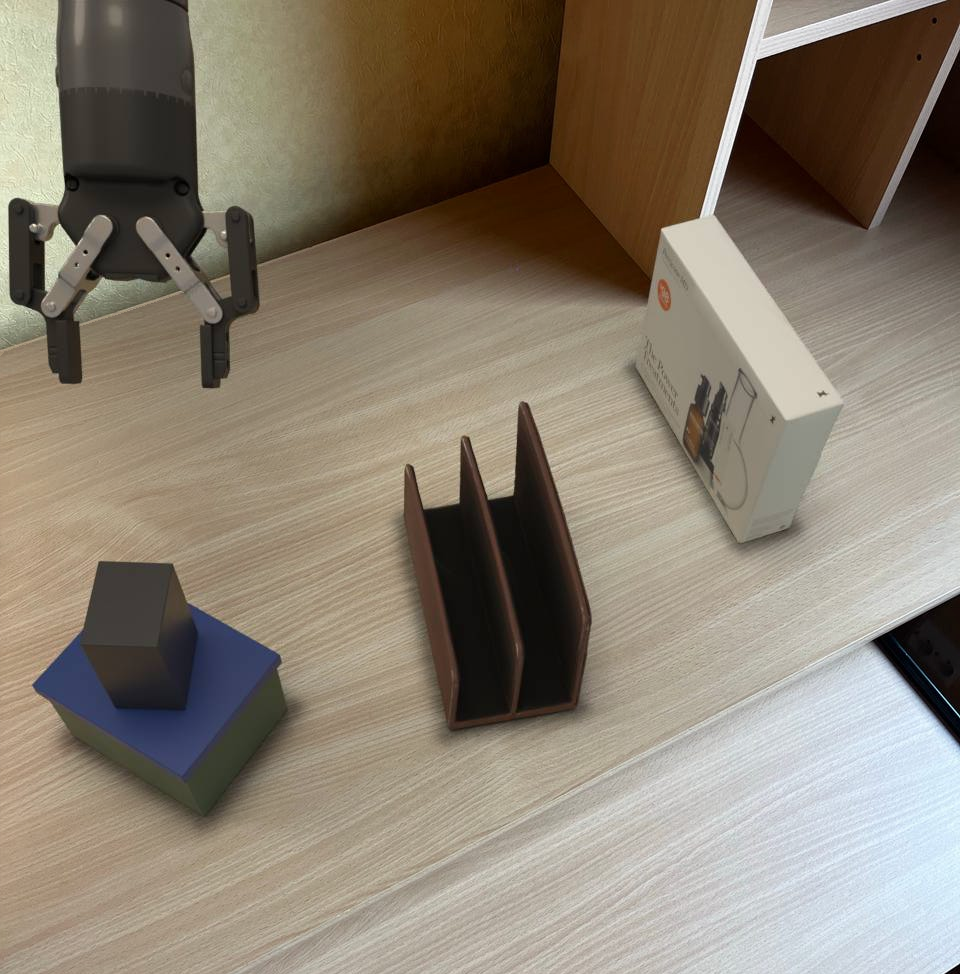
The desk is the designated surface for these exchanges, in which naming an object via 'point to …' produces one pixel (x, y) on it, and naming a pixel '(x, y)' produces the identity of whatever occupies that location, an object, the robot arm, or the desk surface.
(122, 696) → the case
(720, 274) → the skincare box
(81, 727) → the container
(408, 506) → the letter holder
